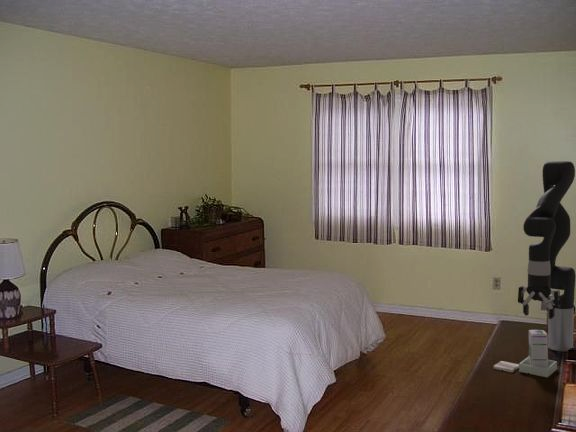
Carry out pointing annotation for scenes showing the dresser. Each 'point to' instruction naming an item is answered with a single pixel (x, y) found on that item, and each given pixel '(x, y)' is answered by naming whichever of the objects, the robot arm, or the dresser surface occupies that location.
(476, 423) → the dresser surface
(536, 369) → the bin
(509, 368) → the pad
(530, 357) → the syrup box
